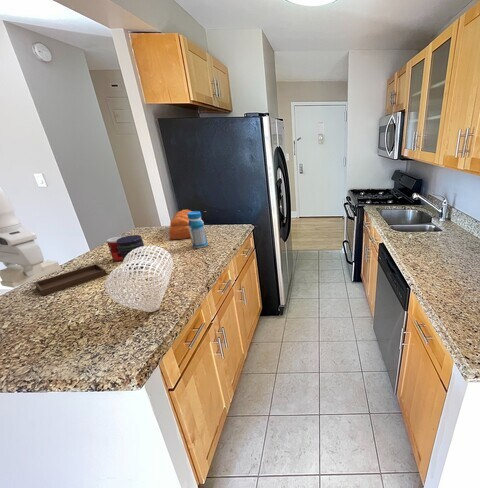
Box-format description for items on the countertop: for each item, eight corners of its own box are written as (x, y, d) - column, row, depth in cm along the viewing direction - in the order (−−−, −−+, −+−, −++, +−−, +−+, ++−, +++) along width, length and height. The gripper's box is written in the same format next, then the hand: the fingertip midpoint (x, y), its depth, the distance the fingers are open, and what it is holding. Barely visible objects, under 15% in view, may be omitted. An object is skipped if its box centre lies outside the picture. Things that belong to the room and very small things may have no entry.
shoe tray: (43, 296, 104) (40, 290, 103) (36, 287, 110) (34, 282, 109) (107, 274, 120) (105, 269, 119) (98, 268, 126) (96, 263, 125)
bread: (200, 223, 192) (197, 206, 187) (196, 237, 164) (191, 217, 159) (177, 225, 187) (173, 208, 182) (168, 240, 160) (163, 220, 155)
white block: (13, 287, 81) (6, 273, 79) (1, 285, 83) (-6, 271, 81) (61, 269, 93) (56, 256, 91) (50, 267, 94) (45, 254, 92)
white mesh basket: (170, 330, 85) (152, 269, 76) (113, 341, 80) (88, 278, 72) (184, 287, 109) (172, 238, 101) (141, 293, 105) (125, 243, 96)
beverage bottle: (200, 249, 147) (194, 215, 140) (189, 247, 150) (181, 213, 142) (211, 243, 155) (205, 211, 147) (200, 242, 157) (193, 210, 150)
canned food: (119, 255, 139) (112, 236, 135) (134, 254, 140) (128, 235, 136) (109, 261, 132) (102, 241, 128) (126, 261, 133) (119, 241, 129)
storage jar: (144, 260, 133) (136, 233, 128) (153, 265, 128) (145, 237, 122) (122, 268, 126) (112, 239, 120) (130, 273, 121) (120, 244, 115)
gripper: (-34, 235, 80) (-12, 274, 85) (12, 241, 75) (32, 282, 80) (-5, 229, 85) (14, 266, 90) (39, 234, 80) (56, 273, 86)
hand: (23, 274), depth 85 cm, fingers closed on white block, 5 cm apart
